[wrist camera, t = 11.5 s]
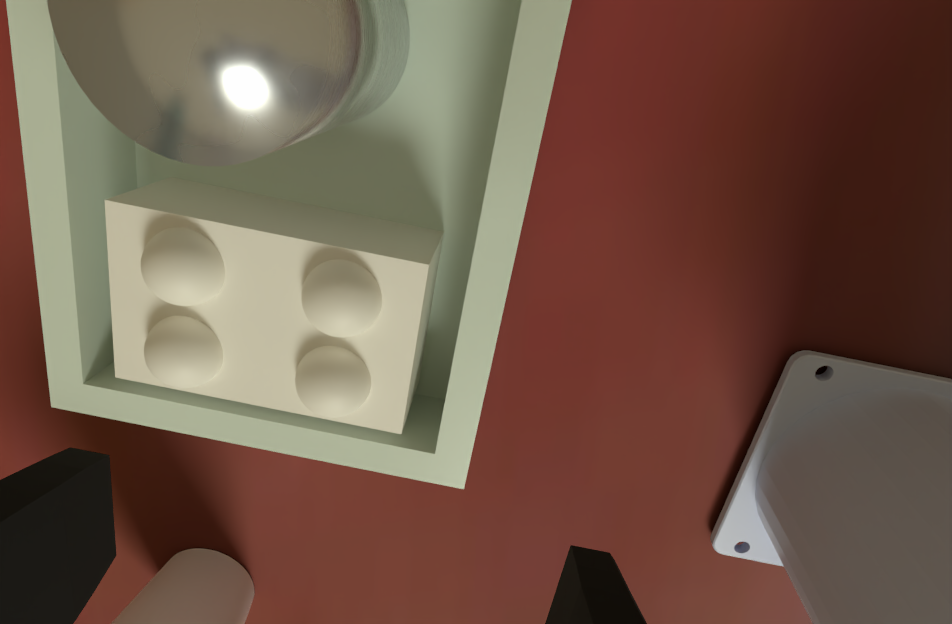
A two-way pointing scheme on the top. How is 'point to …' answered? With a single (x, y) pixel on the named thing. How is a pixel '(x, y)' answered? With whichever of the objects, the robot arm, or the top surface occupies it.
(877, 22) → the top surface
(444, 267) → the tote
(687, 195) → the top surface
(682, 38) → the top surface
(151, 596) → the smoothie
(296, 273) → the egg carton
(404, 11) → the tin can
